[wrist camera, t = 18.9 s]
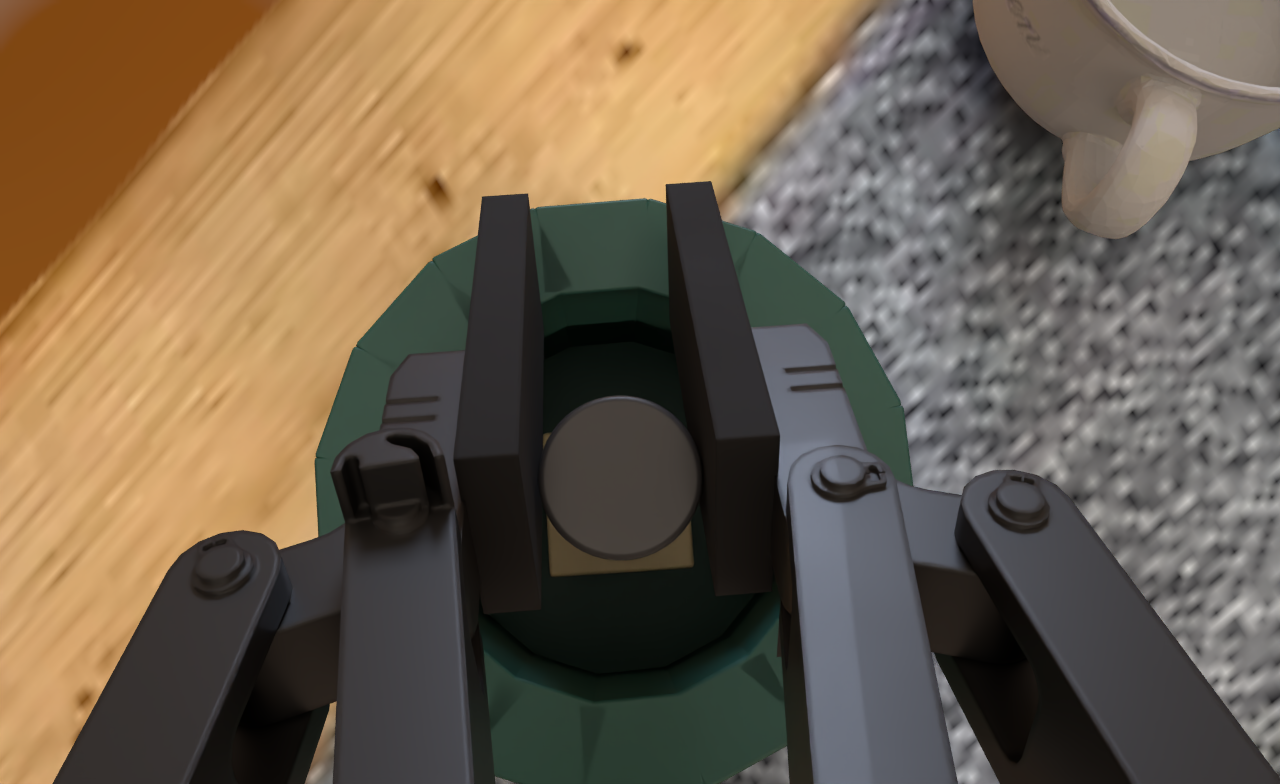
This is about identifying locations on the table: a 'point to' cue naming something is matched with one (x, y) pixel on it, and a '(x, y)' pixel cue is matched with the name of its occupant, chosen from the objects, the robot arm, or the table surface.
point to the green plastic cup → (632, 601)
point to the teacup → (1135, 91)
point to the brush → (619, 489)
